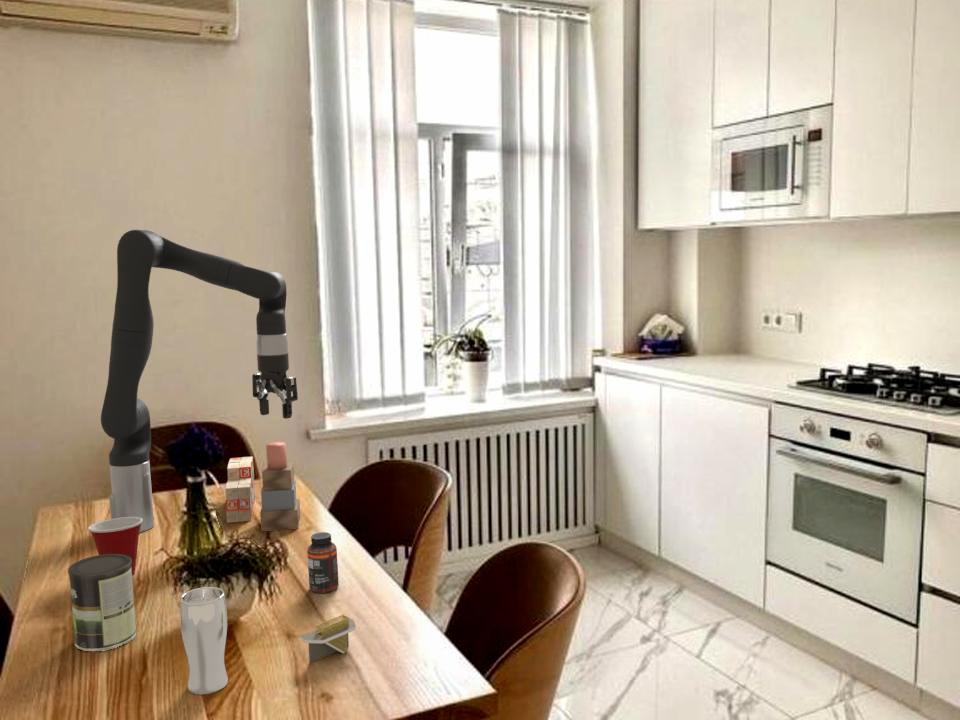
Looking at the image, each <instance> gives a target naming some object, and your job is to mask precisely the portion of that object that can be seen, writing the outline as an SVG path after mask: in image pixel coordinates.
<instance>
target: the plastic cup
mask: <svg viewBox="0 0 960 720" xmlns="http://www.w3.org/2000/svg"><path fill="white" fill-rule="evenodd" d="M142 522H143V519H142V518H139V517H123V518H115V519H111V518H110V519H107V520H102V521H101V520H100V521H99V522H94V523H93V524H91V525H89V526H88V531H89V532H90V533H91V536H92V538H93V542H95V547H96V550H97V555H103V554H123V555H127V556H129V557H130V558H131V559H132V564H131V570H132V577H133V576H134V575H135V571H136V566H137V565H136V562H137V558H138V550H139V549H138V547H139V546H138V545H139V537H140V533H141V532H140V526H141V523H142Z"/></svg>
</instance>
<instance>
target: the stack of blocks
mask: <svg viewBox="0 0 960 720" xmlns="http://www.w3.org/2000/svg"><path fill="white" fill-rule="evenodd" d="M253 457H254V456H242V457H231V458H229V460H228V462H227V463H228V464H227V469H226V470H227V482H226V484H225V490H224V491H225V508H226V509H225V510H226V513H225V514H226V524H227V523H242V522H250V521H252V517H253V512H254V506H255V501H256V488H255V472H254V469H255V468H254V458H253Z"/></svg>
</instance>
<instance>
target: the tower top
mask: <svg viewBox="0 0 960 720" xmlns="http://www.w3.org/2000/svg"><path fill="white" fill-rule="evenodd" d="M261 476H262V477H261V479H262V487H263V491H273V490H292V487H293V485H294V481H295V467H294V462H287V468H285V469H281V470H269V469H267V463H266V464H265V465H264V467H263V469H262V471H261Z"/></svg>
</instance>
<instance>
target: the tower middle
mask: <svg viewBox="0 0 960 720" xmlns="http://www.w3.org/2000/svg"><path fill="white" fill-rule="evenodd" d="M260 496H261V497H260V500H261V509H262V511H274V510H288V509H295V505H296V499H297V485H296V480H294V485H293V487H292V490H273V491H263V486H262V488H261V491H260Z"/></svg>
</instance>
